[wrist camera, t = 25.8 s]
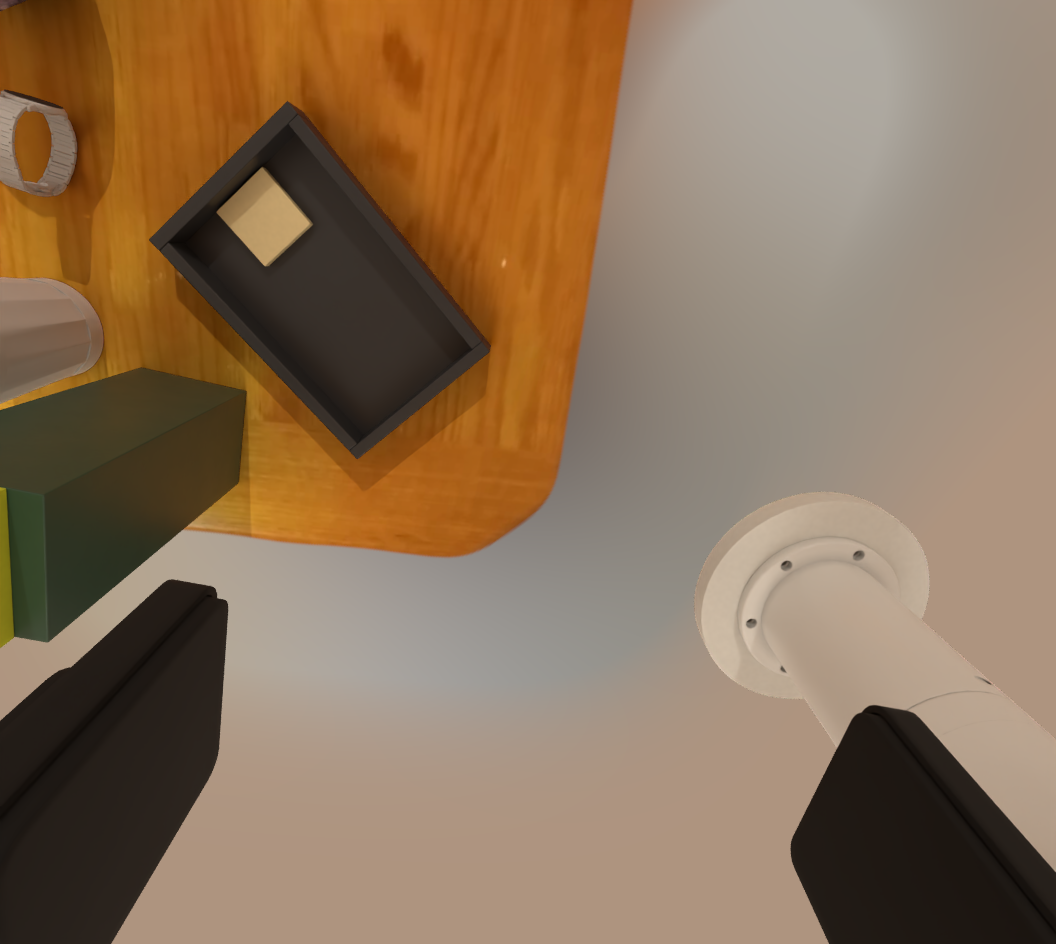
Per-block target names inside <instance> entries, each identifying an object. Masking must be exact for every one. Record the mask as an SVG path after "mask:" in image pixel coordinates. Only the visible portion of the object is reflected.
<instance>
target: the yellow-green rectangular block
mask: <svg viewBox="0 0 1056 944" xmlns="http://www.w3.org/2000/svg"><path fill="white" fill-rule="evenodd" d="M13 638H14V624H13V605H12V586H11V567H10V548H9V529H8V511H7V492H6V488H1V487H0V648H1V647H2V646H3V645H5V644H6V643H7V642H9V641H10V640H11V639H13Z"/></svg>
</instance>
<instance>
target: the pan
mask: <svg viewBox="0 0 1056 944" xmlns="http://www.w3.org/2000/svg"><path fill="white" fill-rule="evenodd" d="M261 167H264V168H266V169H267V170H268V171H269V173H270V174H271V175H272V176H273V177H274V178H275V180H276V181H277V182H278V183H279V184H280V186H281V187H282V188H283V189H284V190H285V191H286V193H287V194H288V195H289V196H290V197H291V198H292V200H293V201H294V202H295V203H296V204H297V206H298V207H299V208H300V209H301V210H302V211H303V213H304V214H305V215H306V216H307V217H308V218H309V220H310V221H311V222H312V223H313V225H312V226H311V227H310V228H309V229H308V230H307V231H306V232H305V233H304V234H302V235H301V236H300V237H299V238H298V239H297V240H296V241H295V242H294V243H293V244H292V245H291V246H290V247H289V248H288V249H286V250H285V251H284V252H283V253H282V254H281V255H280V256H279V257H278V258H277V259H276V260H275V261H274V262H273V263H271V264H270V265H269V266H264V265H263V264H262V263H261V262H260V260H259V259H258V258H257V257H256V256H255V255H254V254H253V253H252V252H251V250H250V249H249V248H248V247H247V246H246V245H245V244H244V243H243V241H242V240H241V239H240V238H239V237H238V236H237V235H236V234H235V233H234V231H233V230H232V229H231V228H230V227H229V226H228V225H227V224H226V223H225V221H224V220H223V219H222V218H221V217H220V216H219V215H218V214H217V210H218V209H219V208H221V207H222V206H223V205H224V204H225V203H226V202H227V201H228V200H229V199H230V198H231V197H232V196H233V195H234V194H235V193H236V192H237V191H238V190H239V189H240V188H241V187H242V186H243V185H244V184H245V183H246V182H247V181H248V180H249V179H250V178H251V177H252V176H253V175H254V174H255V173H256V172H257V171H258V170H259V169H260V168H261ZM149 241H150V242H151V243H152V244H153V245H154V246H155V247H156V248H157V249H158V250H159V251H160V252H161V253H162V254H163V255H164V256H165V257H166V258H167V259H168V260H169V261H170V262H171V264H172V265H173V266H174V267H175V268H176V269H177V270H178V271H179V272H180V273H181V274H182V275H183V276H184V277H185V278H186V279H187V280H188V281H189V283H190V284H191V285H192V286H193V287H194V288H195V289H196V290H197V291H198V292H199V293H200V294H201V295H202V296H203V297H204V298H205V299H206V300H207V301H208V303H209V304H210V305H211V306H212V307H213V308H214V309H215V310H216V311H217V312H218V313H219V314H220V315H221V316H222V317H223V318H224V319H225V320H226V321H227V323H228V324H229V325H230V326H231V327H232V328H233V329H234V330H235V331H236V332H237V333H238V334H239V335H240V336H241V337H242V338H243V339H244V340H245V342H246V343H247V344H248V345H249V346H250V347H251V348H252V349H253V350H254V351H255V352H256V353H257V354H258V355H259V356H260V357H261V358H262V359H263V360H264V362H265V363H266V364H267V365H268V366H269V367H270V368H271V369H272V370H273V371H274V372H275V373H276V374H277V375H278V376H279V377H280V378H281V379H282V380H283V382H284V383H285V384H286V385H287V386H288V387H289V388H290V389H291V390H292V391H293V392H294V393H295V394H296V395H297V396H298V397H299V398H300V399H301V401H302V402H303V403H304V404H305V405H306V406H307V407H308V408H309V409H310V410H311V411H312V412H313V413H314V414H315V415H316V416H317V417H318V418H319V419H320V421H321V422H322V423H323V424H324V425H325V426H326V427H327V428H328V429H329V430H330V431H331V432H332V433H333V434H334V435H335V436H336V437H337V438H338V440H339V441H340V442H341V443H342V444H343V445H344V446H345V447H346V448H347V449H348V450H349V451H350V452H351V453H352V454H353V455H354V456H355V458H356V459H358V458H360V457H361V456H362V455H363V454H365V453H366V452H367V451H368V450H370V449H371V448H372V447H373V446H374V445H376V444H377V443H378V442H379V441H381V440H382V439H383V438H384V437H386V436H387V435H388V434H389V433H390V432H392V431H393V430H394V429H395V428H397V427H398V426H399V425H400V424H401V423H403V422H404V421H405V420H406V419H408V418H409V417H410V416H411V415H413V414H414V413H415V412H416V411H417V410H419V409H420V408H421V407H422V406H424V405H425V404H426V403H427V402H429V401H430V400H431V399H432V398H433V397H435V396H436V395H437V394H438V393H440V392H441V391H442V390H443V389H445V388H446V387H447V386H448V385H449V384H451V383H452V382H453V381H454V380H456V379H457V378H458V377H459V376H461V375H462V374H463V373H464V372H465V371H467V370H468V369H469V368H470V367H472V366H473V365H474V364H475V363H477V362H478V361H479V360H480V359H481V358H483V357H484V356H485V355H486V354H488V353H489V352H490V347H491V345H490V344H489V343H488V341H487V340H486V339H485V338H484V336H483V335H482V334H481V333H480V331H479V330H478V329H477V328H476V326H475V325H474V324H473V323H472V321H471V320H470V319H469V318H468V317H467V315H466V314H465V313H464V312H463V310H462V309H461V308H460V307H459V305H458V304H457V303H456V302H455V300H454V299H453V298H452V297H451V295H450V294H449V293H448V292H447V290H446V289H445V288H444V287H443V285H442V284H441V283H440V282H439V280H438V279H437V278H436V277H435V275H434V274H433V273H432V272H431V270H430V269H429V268H428V267H427V265H426V264H425V263H424V262H423V261H422V259H421V258H420V257H419V256H418V254H417V253H416V252H415V251H414V249H413V248H412V247H411V246H410V244H409V243H408V242H407V241H406V239H405V238H404V237H403V236H402V234H401V233H400V232H399V231H398V229H397V228H396V227H395V226H394V224H393V223H392V222H391V221H390V219H389V218H388V217H387V216H386V214H385V213H384V212H383V211H382V210H381V208H380V207H379V206H378V205H377V203H376V202H375V201H374V200H373V198H372V197H371V196H370V195H369V193H368V192H367V191H366V190H365V188H364V187H363V186H362V185H361V183H360V182H359V181H358V180H357V178H356V177H355V176H354V175H353V173H352V172H351V171H350V170H349V168H348V167H347V166H346V165H345V163H344V162H343V161H342V160H341V159H340V157H339V156H338V155H337V154H336V152H335V151H334V150H333V149H332V147H331V146H330V145H329V144H328V142H327V141H326V140H325V139H324V137H323V136H322V135H321V134H320V132H319V131H318V130H317V129H316V127H315V126H314V125H313V124H312V122H311V121H310V120H309V119H308V117H307V116H306V115H305V114H304V112H302V111H301V110H299V109H298V108H297V107H295V106H294V105H292V104H291V103H289V102H288V101H287V102H286V103H285V104H284V105H283V106H282V107H281V108H280V109H279V110H278V111H277V112H276V113H275V114H274V115H273V116H272V117H271V118H270V119H269V120H268V121H267V122H266V123H265V124H264V125H263V126H262V127H261V128H260V129H259V130H258V131H257V132H256V133H255V134H254V135H253V136H252V137H251V138H250V139H249V140H248V141H247V142H246V143H245V144H244V145H243V146H242V147H241V148H240V149H239V150H238V151H237V152H236V153H235V154H234V155H233V156H232V157H231V158H230V159H229V160H228V161H227V162H226V163H225V164H224V165H223V166H222V167H221V168H220V169H219V170H218V171H217V172H216V173H215V174H214V175H213V176H212V177H211V178H210V179H209V180H208V181H207V182H206V183H205V184H204V185H203V186H202V187H201V188H200V189H199V190H198V191H197V192H196V193H195V194H194V195H193V196H192V197H191V198H190V199H189V200H188V201H187V202H186V203H185V204H184V205H183V206H182V207H181V208H180V209H179V210H178V211H177V212H176V213H175V214H174V215H173V216H172V217H171V218H170V219H169V220H168V221H167V222H166V223H165V224H164V225H163V226H162V227H161V228H160V229H159V230H158V231H157V232H156V233H155V234H154V235H153V236H152V237H151V238H150V239H149Z"/></svg>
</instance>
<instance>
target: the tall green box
mask: <svg viewBox="0 0 1056 944" xmlns="http://www.w3.org/2000/svg"><path fill="white" fill-rule="evenodd" d="M245 401H246V391H244V390H240V389H235V388H231V387H226V386H222V385H217V384H213V383H208V382H204V381H199V380H195V379H191V378H186V377H182V376H177V375H173V374H168V373H164V372H159V371H155V370H150V369H146V368H138V369H134V370H131V371H128V372H125V373H121V374H118V375H115V376H111V377H108V378H105V379H102V380H98V381H95V382H92V383H88V384H85V385H82V386H78V387H75V388H72V389H69V390H65V391H62V392H59V393H55V394H52V395H49V396H46V397H42V398H39V399H36V400H32V401H29V402H26V403H23V404H19V405H16V406H13V407H9V408H6V409H3V410H0V487H1V488H6V492H7V511H8V529H9V548H10V567H11V586H12V605H13V624H14V637H19V638H26V639H31V640H36V641H42V642H49V641H50V640H52V639H53V638H54V637H55V636H56V635H58V634H59V633H60V632H61V631H62V630H63V629H65V628H66V627H67V626H68V625H69V624H71V623H72V622H73V621H74V620H75V619H77V618H78V617H79V616H80V615H81V614H83V612H85V611H86V610H87V609H89V608H90V607H91V606H92V605H93V604H95V603H96V602H97V601H98V600H99V599H100V598H102V597H103V596H104V595H105V594H106V593H108V592H109V591H110V590H111V589H112V588H114V587H115V586H116V585H117V584H118V583H120V582H121V581H122V580H123V579H124V578H126V577H127V576H128V575H129V574H130V573H132V572H133V571H134V570H135V569H136V568H138V567H139V566H140V565H141V564H142V563H143V562H145V561H146V560H147V559H148V558H149V557H151V556H152V555H153V554H154V553H155V552H157V551H158V550H159V549H160V548H161V547H163V546H164V545H165V544H166V543H167V542H169V541H170V540H171V539H172V538H173V537H174V536H176V535H177V534H178V533H179V532H181V531H182V530H183V529H184V528H185V527H187V526H188V525H189V524H190V523H191V522H192V521H194V520H195V519H196V518H197V517H198V516H200V515H201V514H202V513H203V512H204V511H206V510H207V509H208V508H209V507H210V506H212V505H213V504H214V503H215V502H216V501H218V500H219V499H220V498H221V497H222V496H224V495H225V494H226V493H227V492H228V491H230V490H231V489H232V488H233V487H234V486H235V485H237V484H238V482H239V470H240V459H241V447H242V436H243V424H244V413H245Z"/></svg>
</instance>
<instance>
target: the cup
mask: <svg viewBox="0 0 1056 944" xmlns="http://www.w3.org/2000/svg"><path fill="white" fill-rule="evenodd" d="M103 342H104V336H103V329H102V325H101V322H100V320H99V317H98V315H97V313H96V312H95V310H94V309H93V307H92V306H91V304H90V303H89V302H88V301H87V300H86V299H85V298H84V297H83V296H82V295H81V294H80V293H79V292H77V291H76V290H75V289H73V288H72V287H70V286H68V285H66V284H64V283H62V282H59V281H57V280H53V279H48V278H26V279H24V278H4V277H0V404H1V403H3V402H6V401H8V400H11V399H13V398H16V397H18V396H21V395H23V394H26V393H28V392H31V391H33V390H36V389H38V388H41V387H43V386H46V385H48V384H51V383H53V382H56V381H58V380H61V379H64V378H67V377H70V376H74V375H78V374H81V373H83V372H85V371H87V370H88V369H90V368H91V367H92V366H93V365H94V364H95V363H96V362H97V360H98V359H99V357H100V355H101V352H102V349H103Z"/></svg>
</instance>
